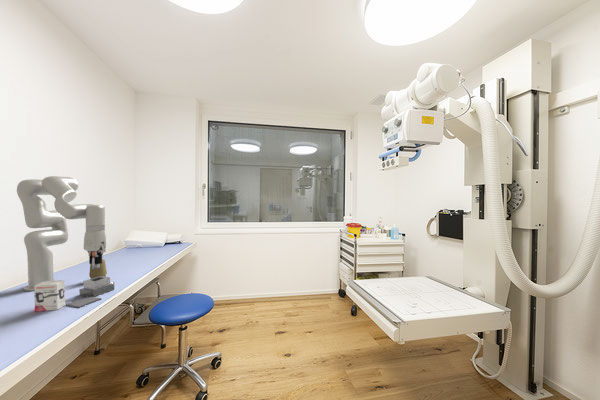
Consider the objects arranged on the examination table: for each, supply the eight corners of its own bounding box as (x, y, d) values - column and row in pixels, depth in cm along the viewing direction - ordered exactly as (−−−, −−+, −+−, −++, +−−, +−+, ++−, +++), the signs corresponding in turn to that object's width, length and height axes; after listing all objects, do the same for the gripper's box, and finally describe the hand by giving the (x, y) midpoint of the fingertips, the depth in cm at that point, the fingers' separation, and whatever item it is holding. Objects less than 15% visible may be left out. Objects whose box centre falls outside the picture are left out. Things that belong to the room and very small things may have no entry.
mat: (66, 305, 108) (65, 304, 108) (88, 297, 116) (88, 296, 116) (79, 308, 105) (79, 306, 105) (101, 299, 114) (101, 298, 114)
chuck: (79, 295, 119) (79, 281, 119) (106, 285, 131) (106, 273, 131) (93, 297, 116) (92, 283, 116) (119, 287, 128) (119, 274, 128)
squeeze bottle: (109, 279, 142) (108, 249, 141) (92, 283, 135) (91, 252, 135) (104, 276, 146) (103, 248, 146) (87, 281, 139) (86, 251, 139)
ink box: (34, 312, 102) (33, 285, 101) (43, 307, 106) (42, 281, 106) (57, 309, 103) (56, 283, 103) (66, 304, 108) (65, 279, 108)
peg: (94, 269, 120) (94, 250, 120) (90, 268, 121) (90, 249, 121) (101, 267, 123) (100, 249, 123) (97, 267, 124) (96, 248, 124)
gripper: (76, 228, 120) (76, 264, 121) (98, 230, 116) (98, 267, 116) (92, 226, 128) (93, 260, 128) (114, 228, 123) (114, 263, 123)
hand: (95, 263), depth 122 cm, fingers closed on peg, 3 cm apart
